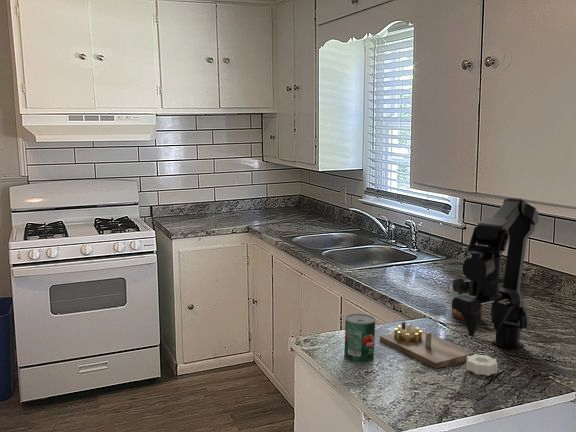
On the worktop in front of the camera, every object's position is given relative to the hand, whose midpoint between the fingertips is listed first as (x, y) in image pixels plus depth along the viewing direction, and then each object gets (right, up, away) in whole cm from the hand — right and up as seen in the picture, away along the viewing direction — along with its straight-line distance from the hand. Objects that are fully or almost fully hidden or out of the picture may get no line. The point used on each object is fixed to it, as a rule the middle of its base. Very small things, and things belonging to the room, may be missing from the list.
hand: (483, 332), depth 150 cm
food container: (+7, -4, +41) cm, 42 cm away
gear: (-15, -5, +18) cm, 25 cm away
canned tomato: (-31, -8, +7) cm, 33 cm away
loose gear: (0, -10, +1) cm, 10 cm away
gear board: (-12, -7, +14) cm, 20 cm away
